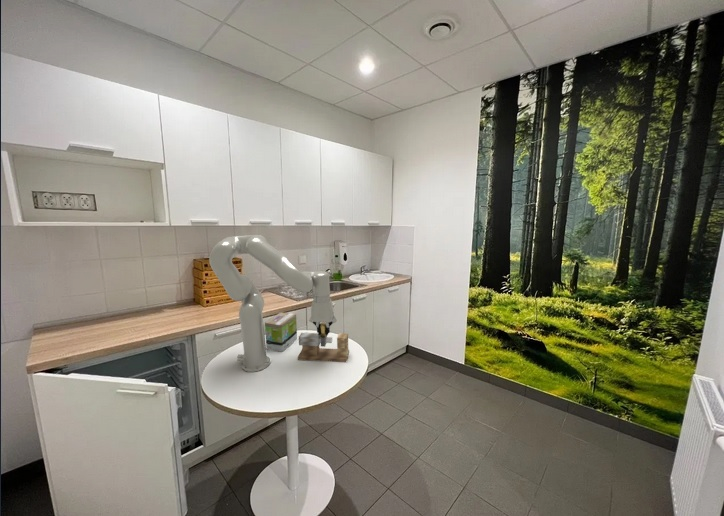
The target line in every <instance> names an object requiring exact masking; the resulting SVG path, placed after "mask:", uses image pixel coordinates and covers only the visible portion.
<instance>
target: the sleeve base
mask: <svg viewBox="0 0 724 516" xmlns="http://www.w3.org/2000/svg"><path fill="white" fill-rule="evenodd" d="M319 337H320V335H318V333H317V332H301V333H300V334H299V336H298V344H299V345H298V346H302V348H301V350H300V352H299V353H298V355H297V361H311V362H312V361H314V362H315V361H316V362H317V361H318V362H335V363H337V362H338V363H347V362H346V361H348V357H349V355H350V354H349V353H350V349H349V348H348V351H349V352H348V355H347V357H338V354H337V348H323V347H322V348H321V347H320V346H321V343H319Z"/></svg>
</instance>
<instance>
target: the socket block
mask: <svg viewBox="0 0 724 516" xmlns="http://www.w3.org/2000/svg"><path fill="white" fill-rule="evenodd" d="M336 347H337V348H336V349H337V354H338V357H347V355H348V352H349V353H350V350H349V351H348V349H349V333H344V332H343V333H341V332H339V333H338V335H337V337H336ZM348 356H349V355H348Z"/></svg>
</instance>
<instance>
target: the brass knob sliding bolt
mask: <svg viewBox="0 0 724 516" xmlns="http://www.w3.org/2000/svg"><path fill="white" fill-rule="evenodd" d="M319 343H320V347H326V345H327V344H332V343H333V337H332V336H328V335H327V336H326V322H320V337H319Z"/></svg>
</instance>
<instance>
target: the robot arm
mask: <svg viewBox="0 0 724 516" xmlns="http://www.w3.org/2000/svg"><path fill="white" fill-rule="evenodd" d="M237 255H249V256H251V257H252V258H254V259H255V260H257V261H258V262H259V263H261V264H262V265H264V266H265V267H267V268H268V269H270V270H271V271H273V273H274V274H275V275H277V276H278V277H279V278H280V279H281V280H282V281H283V282H284V283H285V284H287V285H289V286H290V287H291V288H292V289H294V290H296V291H297V292H299V293H302V294H306V293H307V294H308V293H309V292H311V290H313V294H312V295H310V298H311V299H313V300H312V301H311V307H310V308H311V309H310V318H309V319H308V321H309V322H310V323H312V324H313V325H314V326H315V327H316V333H318V335H320V324H321V323H326V336H327V337H328V335H329V334H330V331H331V330H330V328H331V326H332V325H333V324H335V323H337V322H338V321H337V320H338V319H337V318H336V315H335V314H334V313H335V312H334V306H333V301H332V299H331V289H330V288H331V287H330V274H329V272H328V271H324V270H320V271H319V270H318V271H307V270H304V271H300V270H298V268H297V267H295V266H294V265H293V264H292V263H291V261H290V260H289V259H288V257H287V256H286V255H285V254H284V253H282V252H281V251H279V250H278V249H277V248H275V247H274V246H272V244H270V243H268V241H267V239H266V237H265V236H263V235H260V234H251V235H249V234H248V235H237V236H236V235H235V236H227V237H225V238H224V239H222V240H220V241H218V242H217V243H216V244H215V245H214V246H213V248H212V249H211V251H210V253H209V257H208V258H209V259H208V261H209V266H210V267H211V270H212V272H213V273H214V275H215V276H216V278H218V281H219V283H220V284H221V285H222V286H223V289H224V290H225V292H226V293H227V295H228V297H229V298H230V299H232V300H233V301H235V302H240V303H241V305H240V306H239V311H238V317H239V318H238V319H239V323H240V328H241V335H242V336H241V337H242V345H243V353H242V354H237V362H242V363H241V368H242V370H243V371H245V372H248V373H255V372H258V371H259V372H260V371H263V370H264V369H266V368H267V367H269V366H270V364H271V361H272V360H271V358H270V356H268V355H267V349H266V333H265V323H264V318H263V317H264V316H263V310H264V307H265V300H264V297H263V296H262V294H261V292H260V290H259V289H258V288H257V286H256V284H255V283H254V281H253V280H252V279H251V277H250V276H248V275H246V274H241V272H240V271H239V270H238V268H237V266H236V265H234V263H233V259H234V257H236V256H237Z"/></svg>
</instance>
